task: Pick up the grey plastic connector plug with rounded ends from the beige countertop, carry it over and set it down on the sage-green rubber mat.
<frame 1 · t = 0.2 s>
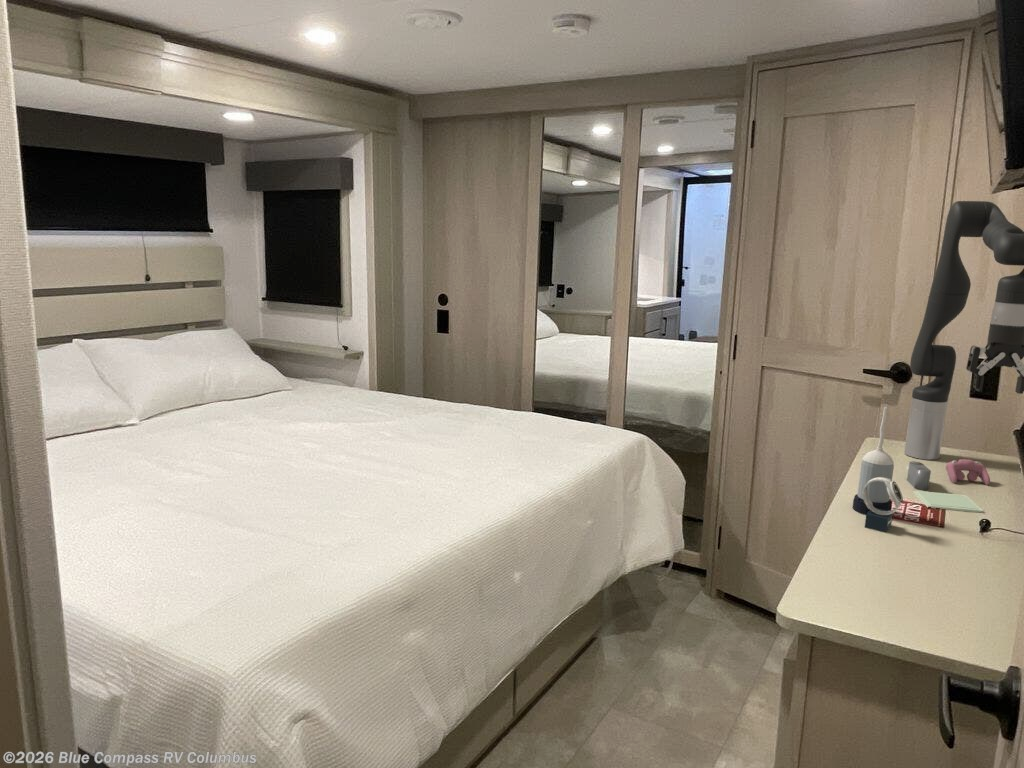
hand: (998, 391, 172), 28 cm above the dresser, fingers open, 8 cm apart
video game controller: (966, 482, 197), on the dresser
connector: (917, 484, 193), on the dresser
watch: (878, 527, 164), on the dresser
mat: (947, 502, 180), on the dresser
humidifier: (871, 511, 173), on the dresser
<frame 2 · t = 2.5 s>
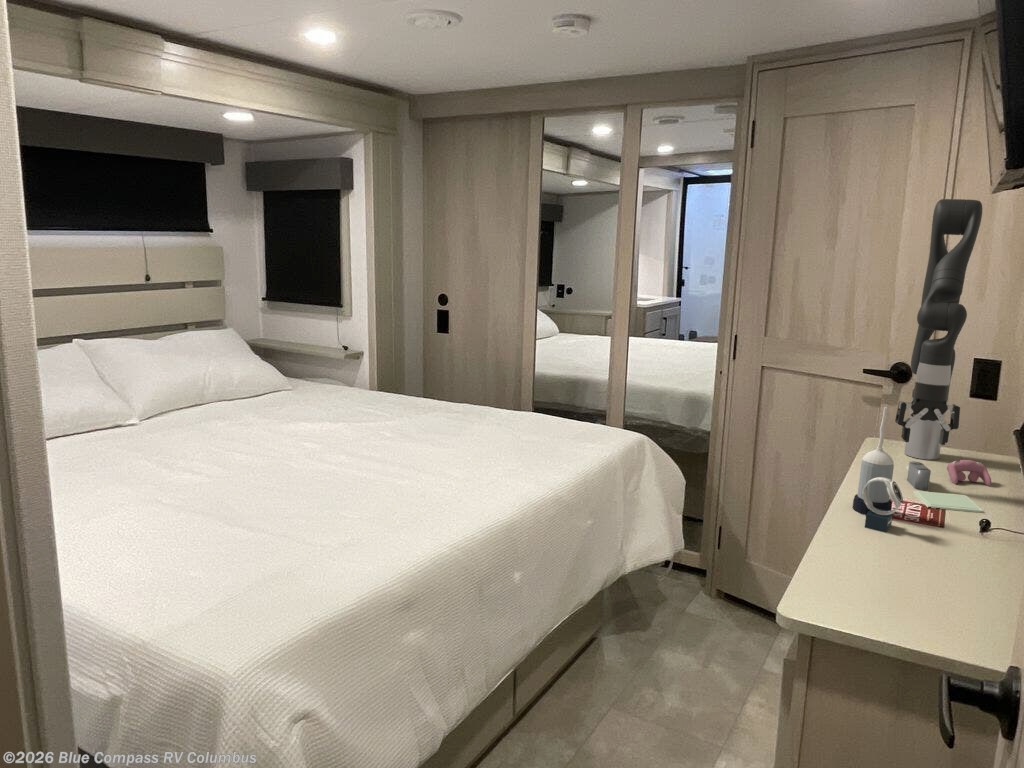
hand: (923, 442, 190), 11 cm above the dresser, fingers open, 8 cm apart
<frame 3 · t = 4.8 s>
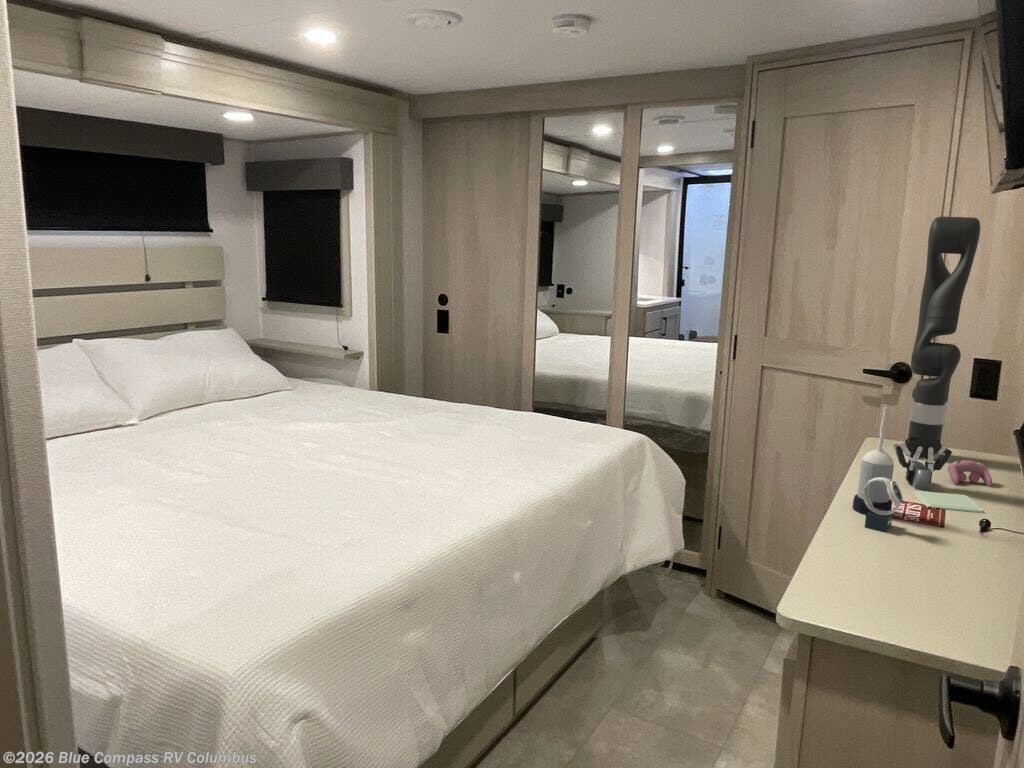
hand: (917, 483, 193), 0 cm above the dresser, fingers closed on connector, 3 cm apart
connector: (917, 484, 193), on the dresser, touching gripper
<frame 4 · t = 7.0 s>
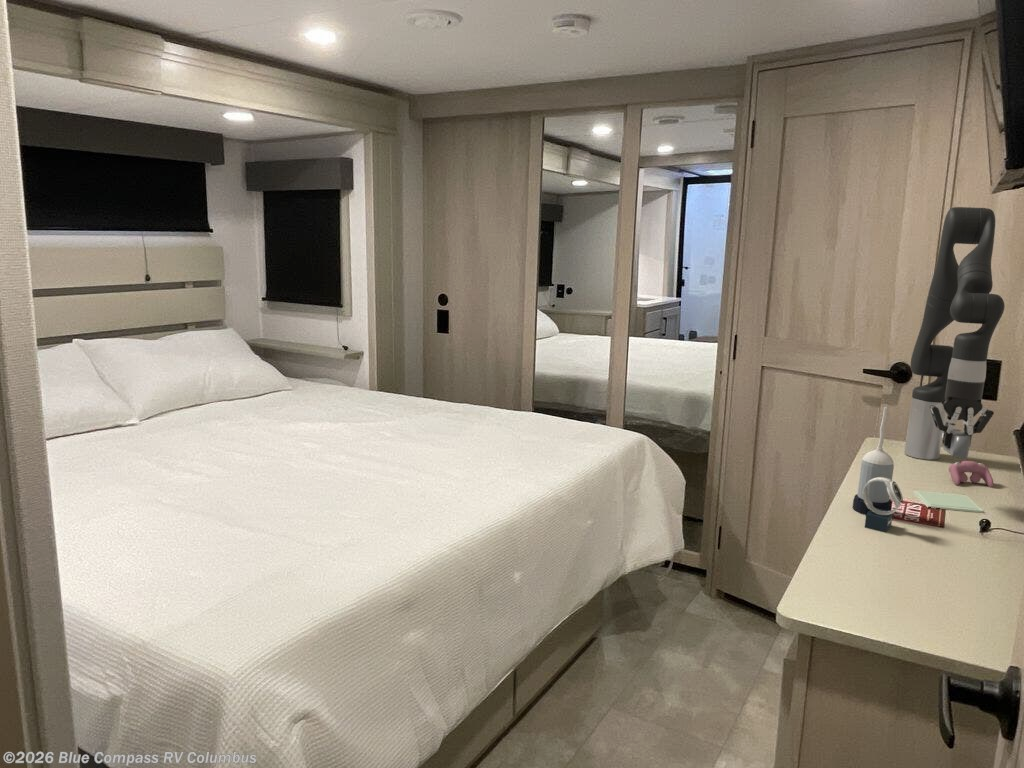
hand: (955, 447, 178), 14 cm above the dresser, fingers closed on connector, 3 cm apart
connector: (955, 452, 178), point 13 cm above the dresser, touching gripper
when the fingers open (2 cm above the dresser, at t = 9.6 s): connector stays where it is, resting on mat.
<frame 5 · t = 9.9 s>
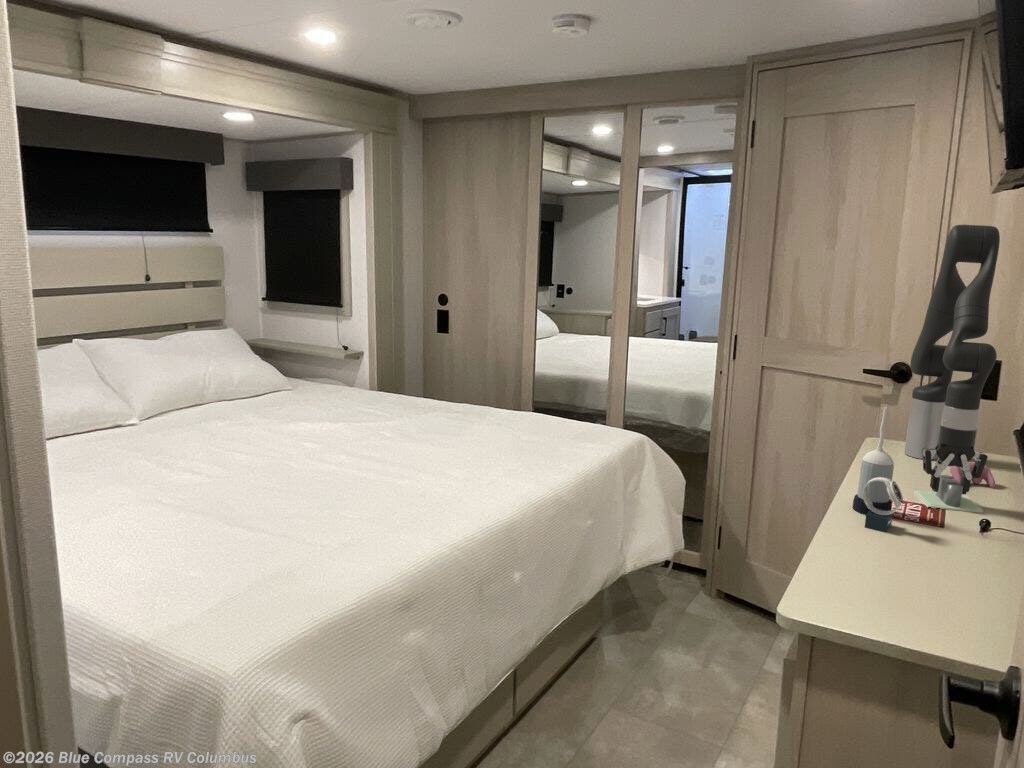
hand: (948, 491, 180), 3 cm above the dresser, fingers open, 5 cm apart
connector: (947, 500, 180), point 1 cm above the dresser, touching mat
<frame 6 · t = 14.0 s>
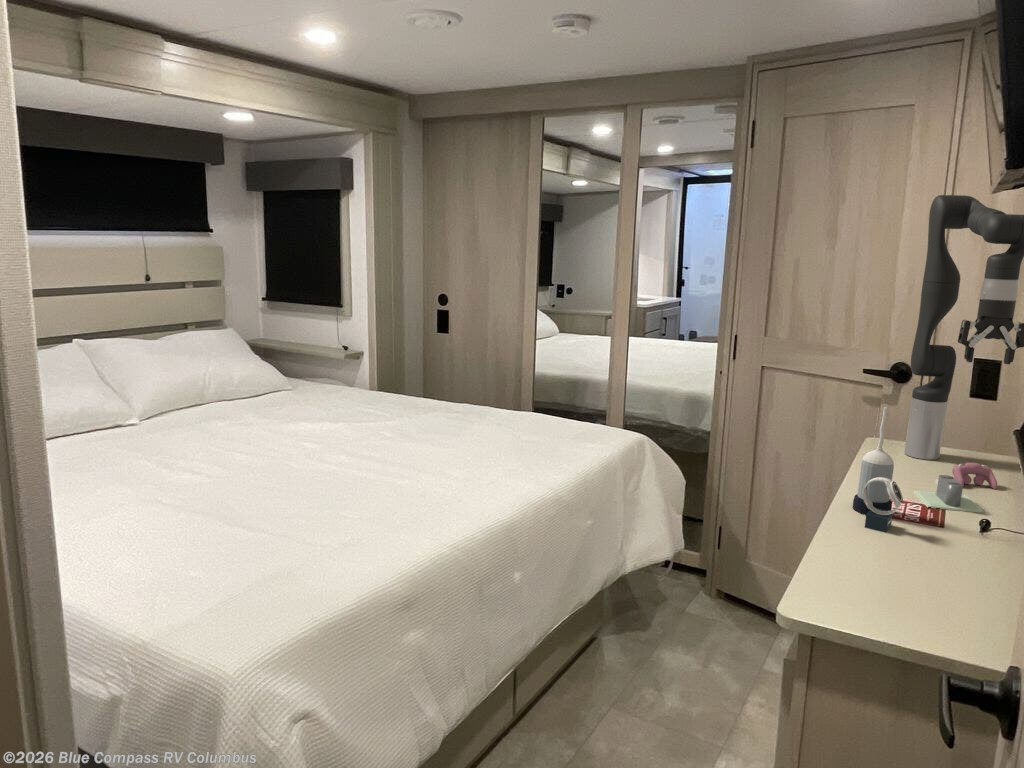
hand: (987, 362, 184), 33 cm above the dresser, fingers open, 8 cm apart
at the end: connector 0.2 cm from the mat (horizontally); connector point 0.6 cm above the dresser; the gripper is holding nothing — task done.
